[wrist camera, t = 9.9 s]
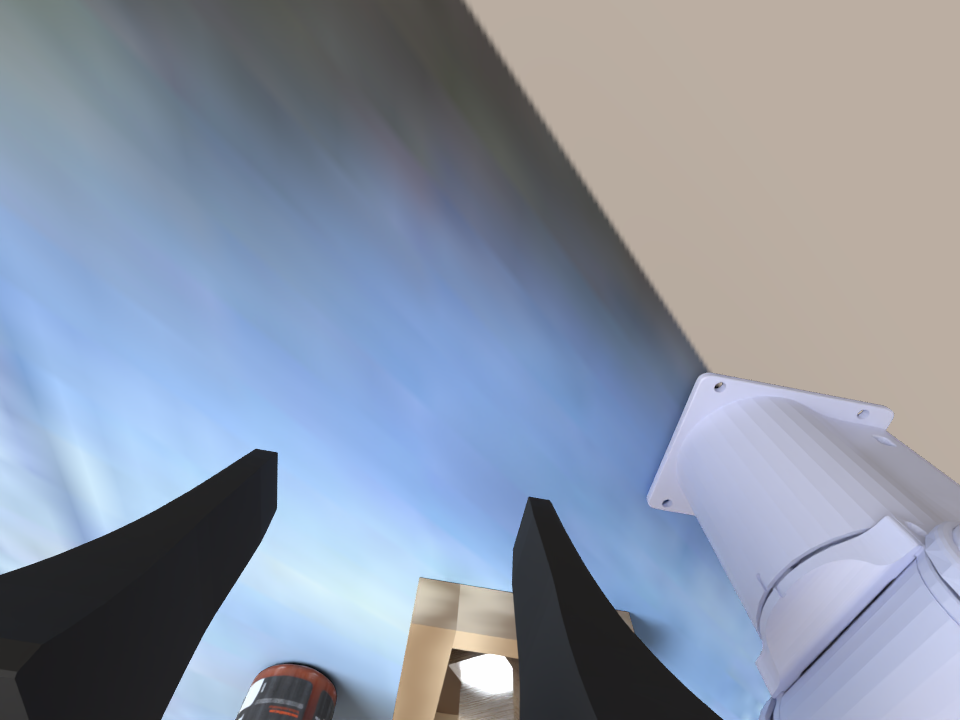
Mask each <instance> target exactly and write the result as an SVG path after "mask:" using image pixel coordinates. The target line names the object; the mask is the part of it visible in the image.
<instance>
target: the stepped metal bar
mask: <svg viewBox="0 0 960 720" xmlns="http://www.w3.org/2000/svg"><path fill="white" fill-rule="evenodd" d="M448 665H449V667H450V668H451V669H452V671H453V672H454V673H455V674H456V676H457V677H458V678H459V680H460V681H461V689H460V703H459V718H458V720H520V678H519V660H518V659H517V658H511V657H504V656H498V655H492V654H485V653H479V652H473V651H467V650H460V649H454V648H452V650H451V654H450V658H449V662H448Z"/></svg>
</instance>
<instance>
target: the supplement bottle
mask: <svg viewBox="0 0 960 720" xmlns="http://www.w3.org/2000/svg"><path fill="white" fill-rule="evenodd" d="M336 698H337V695H336V690H335V687H334V685H333V684H332V683H331V681H330V680H329V679H328V678H327V677H325V676H324V675H323V674H322V673H320V672H318V671H316V670H315V669H313V668H311V667H308V666H302V665H296V664H280V665H275V666H271V667H269V668H267V669H265V670H263V671H261V672H260V673H259V674H258V675H257V676H256V678H255V679H254V681H253V683H252V685H251V687H250V689H249V690H248V693H247V695H246V697H245V699H244V701H243V704H242V706H241V709H240V711H239V713H238V715H237V718H236V719H235V720H332V716H333V713H334V708H335V705H336Z"/></svg>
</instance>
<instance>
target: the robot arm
mask: <svg viewBox="0 0 960 720" xmlns="http://www.w3.org/2000/svg"><path fill="white" fill-rule="evenodd" d="M719 382H722V385H721V387H719V388H714V387H715V385H716V384H717V383H719ZM862 410H863V411H862ZM860 411H862V413H861V414H858V413H859V412H860ZM893 417H894V413H893V411H892V410H891V409H889V408H888V407H886V406H883V405H878V404H872V403H868V402H862V401H857V400H852V399H846V398H841V397H836V396H830V395H826V394H820V393H815V392H810V391H805V390H799V389H794V388H789V387H784V386H779V385H773V384H768V383H762V382H758V381H752V380H747V379H742V378H737V377H731V376H726V375H721V374H715V373H704V374H702V375H700V376H699V377H698V379H697V380H696V383H695V385H694V387H693V390H692V392H691V394H690V397H689V399H688V401H687V404H686V406H685V408H684V411H683V413H682V415H681V418H680V420H679V422H678V425H677V427H676V429H675V432H674V434H673V436H672V439H671V441H670V443H669V446H668V448H667V450H666V453H665V455H664V457H663V460H662V462H661V464H660V467H659V469H658V471H657V474H656V476H655V478H654V481H653V483H652V485H651V488H650V490H649V492H648V495H647V501H648V504H649V506H650V507H652V508H654V509H660V510H666V511H671V512H677V513H683V514H688V515H694V516H696V518H697V520H698V521H699V523H700V525H701V527H702V529H703V531H704V533H705V535H706V536H707V538H708V540H709V542H710V544H711V546H712V548H713V550H714V552H715V553H716V555H717V557H718V559H719V561H720V563H721V565H722V567H723V569H724V570H725V572H726V574H727V576H728V578H729V580H730V582H731V584H732V585H733V587H734V589H735V591H736V593H737V595H738V597H739V599H740V601H741V602H742V604H743V606H744V608H745V610H746V612H747V614H748V616H749V617H750V619H751V621H752V623H753V625H754V627H755V629H756V631H757V633H758V634H759V636H760V638H761V640H762V644H763V647H762V651H761V654H760V656H759V657H758V658H757V660H756V662H755V664H756V666H757V668H758V670H759V672H760V674H761V676H762V678H763V680H764V682H765V684H766V686H767V688H768V690H769V692H770V694H771V696H772V697H771V698H770V699H769V700H768V701H767V702H766V704H765V705H764V707H763V708H762V710H761V712H760V716H759V720H960V485H959V484H958V483H956V482H955V481H954V480H952V479H951V478H950V477H948V476H947V475H945V474H944V473H943V472H941V471H940V470H939V469H937V468H936V467H934V466H933V465H932V464H931V463H929V462H928V461H927V460H925V459H924V458H922V457H921V456H920V455H918V454H917V453H916V452H914V451H913V450H912V449H910V448H909V447H908V446H906V445H905V444H904V443H902V442H901V441H899V440H898V439H897V438H895V437H894V436H893V435H891V434H890V433H888V432H887V431H886V429H887V428H888V426H889V424H890V423H891V421H892V420H893ZM277 464H278V453H277V452H272V451H266V450H260V449H255V450H253V451H252V452H250V453H248V454H247V455H245V456H244V457H242V458H241V459H239V460H237V461H236V462H234V463H233V464H231V465H230V466H228V467H227V468H225V469H224V470H222V471H220V472H219V473H217V474H216V475H214V476H213V477H211V478H210V479H208V480H206V481H205V482H203V483H201V484H200V485H198V486H197V487H195V488H193V489H192V490H190V491H189V492H187V493H185V494H183V495H182V496H180V497H178V498H176V499H175V500H173V501H171V502H169V503H168V504H166V505H164V506H162V507H161V508H159V509H157V510H155V511H153V512H152V513H150V514H148V515H146V516H144V517H142V518H140V519H138V520H136V521H134V522H132V523H130V524H128V525H126V526H124V527H121V528H119V529H117V530H115V531H113V532H111V533H109V534H106V535H104V536H102V537H100V538H97V539H95V540H92V541H90V542H88V543H85V544H83V545H80V546H78V547H75V548H73V549H71V550H68V551H66V552H63V553H61V554H58V555H56V556H53V557H51V558H48V559H45V560H42V561H40V562H37V563H34V564H31V565H29V566H26V567H23V568H20V569H17V570H14V571H11V572H8V573H5V574H2V575H0V720H161V719H162V717H163V714H164V712H165V710H166V708H167V706H168V704H169V702H170V700H171V698H172V696H173V694H174V692H175V690H176V688H177V686H178V684H179V682H180V680H181V678H182V676H183V674H184V672H185V670H186V668H187V666H188V664H189V662H190V660H191V658H192V656H193V654H194V652H195V650H196V648H197V646H198V644H199V642H200V640H201V638H202V637H203V635H204V633H205V631H206V629H207V628H208V626H209V624H210V622H211V621H212V619H213V617H214V616H215V614H216V612H217V611H218V609H219V608H220V606H221V605H222V603H223V601H224V600H225V598H226V597H227V595H228V594H229V592H230V590H231V589H232V587H233V586H234V584H235V583H236V581H237V580H238V578H239V576H240V575H241V573H242V572H243V570H244V569H245V567H246V565H247V564H248V562H249V561H250V559H251V557H252V556H253V554H254V553H255V551H256V549H257V548H258V546H259V545H260V543H261V541H262V539H263V537H264V535H265V533H266V531H267V529H268V527H269V525H270V522H271V520H272V518H273V516H274V514H275V512H276V509H277ZM665 500H669V501H667V502H663V501H665ZM512 588H513V601H514V613H515V625H516V637H517V648H518V660H519V678H520V720H723V719H722V718H721V717H719V716H718V715H717V714H716V713H715V712H714V711H713V710H711V709H710V708H709V707H708V706H707V705H706V704H705V703H703V702H702V701H701V700H700V699H699V698H698V697H696V696H695V695H694V694H693V693H692V692H691V691H690V690H689V689H688V688H687V687H685V686H684V685H683V684H682V683H681V682H680V681H679V680H678V679H677V678H676V677H675V676H674V675H673V674H672V673H671V672H670V671H669V670H668V669H667V668H666V667H665V666H664V665H663V664H662V663H661V662H660V661H659V660H658V659H657V658H656V657H655V656H654V655H653V653H652V652H651V651H650V650H649V649H648V648H647V647H646V646H645V644H644V643H643V642H642V641H641V640H640V639H639V638H638V637H637V636H636V634H635V633H634V632H633V631H632V630H631V629H630V627H629V626H628V625H627V624H626V623H625V621H624V620H623V619H622V618H621V616H620V615H619V614H618V612H617V611H616V610H615V609H614V607H613V606H612V605H611V603H610V602H609V600H608V599H607V598H606V596H605V595H604V593H603V592H602V591H601V589H600V588H599V586H598V585H597V583H596V582H595V580H594V578H593V577H592V575H591V574H590V572H589V571H588V569H587V567H586V566H585V564H584V563H583V561H582V559H581V557H580V556H579V554H578V552H577V551H576V549H575V547H574V545H573V544H572V542H571V540H570V538H569V536H568V534H567V533H566V531H565V529H564V527H563V525H562V523H561V521H560V519H559V517H558V515H557V513H556V511H555V509H554V507H553V505H552V503H551V502H550V500H545V499H539V498H534V497H528V501H527V504H526V507H525V511H524V514H523V517H522V521H521V524H520V528H519V531H518V534H517V538H516V541H515V544H514V548H513V568H512Z"/></svg>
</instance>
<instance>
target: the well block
mask: <svg viewBox="0 0 960 720" xmlns="http://www.w3.org/2000/svg"><path fill="white" fill-rule="evenodd" d="M616 611H617V612H618V614H619V615H620V616H621V618H622V619H623V620H624V621H625V623H626V624H627V625H628V626H629V627H630V629H631V630H632V631H633V632H634V629H633V626H632V622H631V619H630V615H629V612H625V611H619V610H616ZM452 648H454V649H460V650H467V651H473V652H479V653H485V654H492V655H498V656H504V657H511V658H517V659H518V648H517V637H516V625H515V613H514V601H513V593H510V592H504V591H498V590H492V589H486V588H480V587H474V586H468V585H462V584H456V583H450V582H444V581H438V580H432V579H426V578H419V583H418V588H417V593H416V599H415V604H414V609H413V614H412V620H411V625H410V630H409V635H408V641H407V646H406V651H405V656H404V661H403V667H402V672H401V677H400V682H399V688H398V693H397V698H396V703H395V709H394V714H393V719H392V720H458V718H459V703H460V689H461V681H460V680H459V678H458V677H457V676H456V674H455V673H454V672H453V671H452V669H451V668H450V667H449V665H448V662H449V658H450V654H451V650H452Z"/></svg>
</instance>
